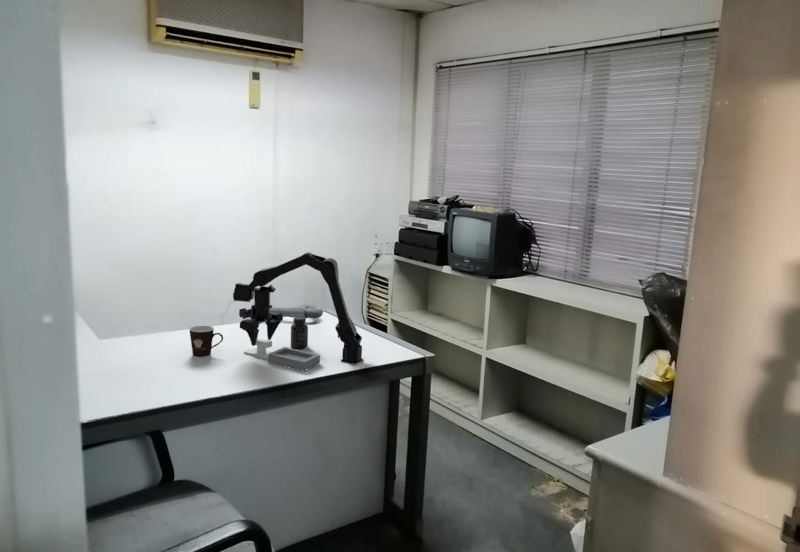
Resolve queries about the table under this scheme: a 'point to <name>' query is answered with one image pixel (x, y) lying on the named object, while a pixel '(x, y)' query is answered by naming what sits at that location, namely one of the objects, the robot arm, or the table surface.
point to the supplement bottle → (299, 333)
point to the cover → (260, 348)
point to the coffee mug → (202, 340)
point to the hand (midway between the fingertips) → (261, 342)
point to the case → (294, 358)
